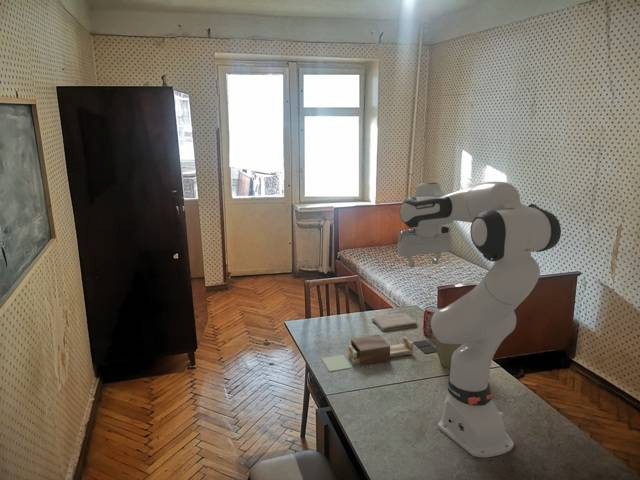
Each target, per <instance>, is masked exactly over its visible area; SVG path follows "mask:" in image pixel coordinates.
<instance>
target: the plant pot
mask: <svg viewBox="0 0 640 480" xmlns="http://www.w3.org/2000/svg"><path fill="white" fill-rule="evenodd" d="M432 338H433V341H434V347H435V348H436V350H437V352H436V354H437V357H438V359H439V362H440V365H441V366H442V367H444V368H446V369H451V357H452V354H453V353H454V351H455V350H456V349H457V348H459V347H460V346H461V345H462V344H444V343H441V342H440V341H438V340H437V339H436V337H435V336H434V334H433V337H432Z"/></svg>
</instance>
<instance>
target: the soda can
mask: <svg viewBox="0 0 640 480" xmlns="http://www.w3.org/2000/svg"><path fill="white" fill-rule="evenodd" d="M437 310H440V308H439V307H438V306H437V307H436V306H434V305H433V306H431V305H430V306H426V307H425V310H424V312H423V320H422V321H423V323H422V324H423V325H422V332H423V333H422V334H423V335H425V336H426V337H428V338H434V337H433V332H432V329H431V320H432V316H433V314H434V313H435V312H436V311H437Z"/></svg>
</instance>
